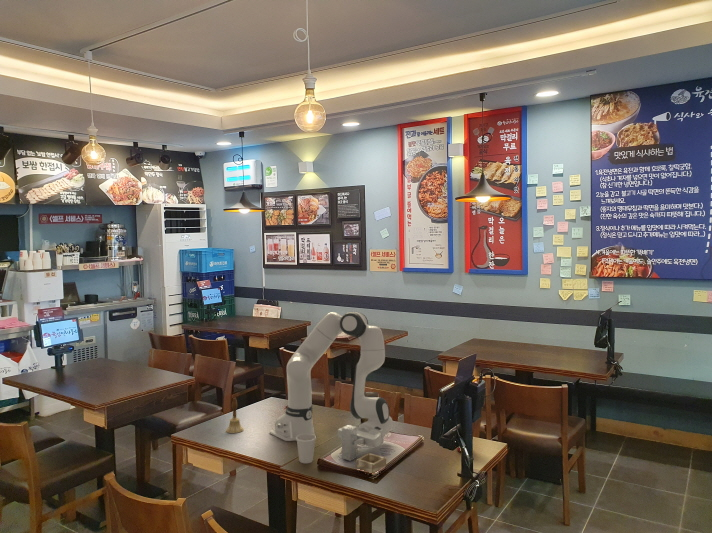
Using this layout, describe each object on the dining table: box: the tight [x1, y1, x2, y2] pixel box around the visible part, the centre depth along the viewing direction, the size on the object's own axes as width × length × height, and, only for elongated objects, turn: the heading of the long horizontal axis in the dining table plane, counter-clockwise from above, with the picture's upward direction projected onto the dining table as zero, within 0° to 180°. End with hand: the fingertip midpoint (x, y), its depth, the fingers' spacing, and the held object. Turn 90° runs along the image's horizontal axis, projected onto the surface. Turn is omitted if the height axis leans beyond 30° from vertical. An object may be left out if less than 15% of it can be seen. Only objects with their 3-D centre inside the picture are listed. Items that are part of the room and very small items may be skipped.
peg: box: [341, 424, 358, 461], centre depth 220 cm, size 4×4×13 cm
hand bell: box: [225, 397, 244, 434], centre depth 254 cm, size 8×8×16 cm
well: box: [356, 452, 387, 473], centre depth 210 cm, size 8×8×4 cm
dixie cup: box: [296, 434, 317, 464], centre depth 218 cm, size 8×8×10 cm
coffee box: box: [360, 391, 380, 424], centre depth 262 cm, size 9×6×16 cm
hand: (348, 441), depth 219 cm, fingers closed on peg, 4 cm apart
